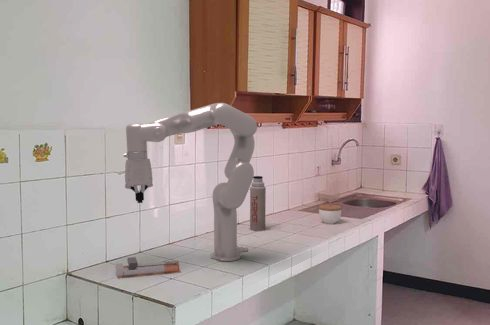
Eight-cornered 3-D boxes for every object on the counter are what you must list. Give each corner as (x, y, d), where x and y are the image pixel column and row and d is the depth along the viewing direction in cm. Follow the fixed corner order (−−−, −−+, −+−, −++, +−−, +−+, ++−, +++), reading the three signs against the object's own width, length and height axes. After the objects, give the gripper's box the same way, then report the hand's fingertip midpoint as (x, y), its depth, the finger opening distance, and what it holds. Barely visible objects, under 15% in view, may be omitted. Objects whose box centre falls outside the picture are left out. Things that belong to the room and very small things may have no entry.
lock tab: (135, 261, 189) (135, 257, 189) (137, 267, 182) (137, 262, 182) (127, 262, 188) (127, 257, 188) (129, 267, 181) (129, 263, 181)
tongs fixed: (174, 266, 194) (174, 258, 194) (178, 271, 187) (178, 263, 187) (116, 271, 187) (116, 263, 187) (117, 277, 181) (117, 269, 180)
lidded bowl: (314, 221, 282) (314, 202, 281) (332, 219, 287) (332, 200, 286) (326, 225, 271) (327, 205, 269) (345, 223, 276) (346, 204, 275)
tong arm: (178, 266, 193) (177, 260, 193) (179, 268, 190) (179, 262, 190) (127, 270, 188) (127, 264, 188) (128, 272, 185) (128, 267, 185)
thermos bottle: (257, 231, 256) (258, 177, 253) (246, 229, 262) (247, 176, 259) (268, 229, 262) (268, 176, 259) (257, 226, 267) (257, 175, 265)
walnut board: (174, 264, 200) (174, 261, 200) (181, 275, 186) (181, 272, 186) (115, 269, 193) (115, 266, 193) (118, 281, 179) (117, 278, 179)
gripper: (118, 157, 187) (121, 205, 189) (158, 155, 192) (160, 202, 194) (116, 156, 194) (119, 202, 196) (155, 153, 199) (157, 199, 201)
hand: (139, 202), depth 195 cm, fingers closed
